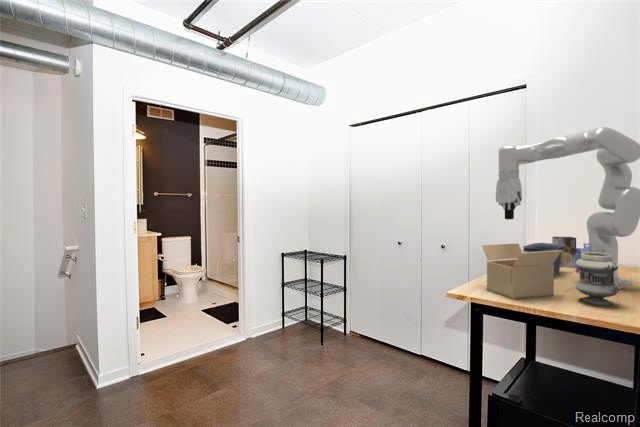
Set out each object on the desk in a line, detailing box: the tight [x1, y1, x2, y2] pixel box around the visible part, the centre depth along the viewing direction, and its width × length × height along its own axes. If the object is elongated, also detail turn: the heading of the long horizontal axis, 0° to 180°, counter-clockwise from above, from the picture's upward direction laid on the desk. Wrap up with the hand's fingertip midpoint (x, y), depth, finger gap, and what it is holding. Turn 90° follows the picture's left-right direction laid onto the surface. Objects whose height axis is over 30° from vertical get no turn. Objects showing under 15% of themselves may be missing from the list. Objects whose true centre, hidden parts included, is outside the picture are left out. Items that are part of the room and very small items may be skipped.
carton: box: [486, 258, 555, 300], centre depth 137 cm, size 20×14×12 cm
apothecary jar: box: [575, 252, 620, 308], centre depth 122 cm, size 12×12×18 cm
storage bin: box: [522, 242, 565, 275], centre depth 169 cm, size 21×16×14 cm
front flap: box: [514, 250, 562, 267], centre depth 128 cm, size 18×7×1 cm
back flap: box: [481, 242, 524, 261], centre depth 145 cm, size 18×7×1 cm
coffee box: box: [551, 236, 577, 268], centre depth 185 cm, size 9×6×16 cm
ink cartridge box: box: [575, 243, 589, 274], centre depth 169 cm, size 10×6×14 cm, turn 78°
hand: (509, 219), depth 144 cm, fingers closed
